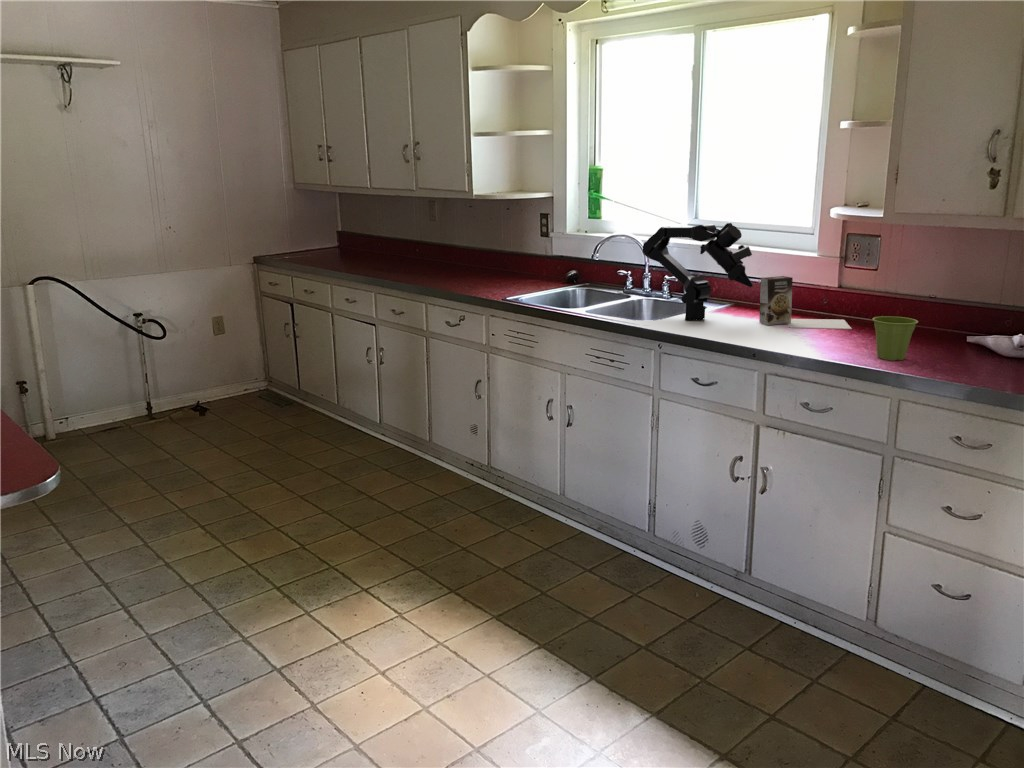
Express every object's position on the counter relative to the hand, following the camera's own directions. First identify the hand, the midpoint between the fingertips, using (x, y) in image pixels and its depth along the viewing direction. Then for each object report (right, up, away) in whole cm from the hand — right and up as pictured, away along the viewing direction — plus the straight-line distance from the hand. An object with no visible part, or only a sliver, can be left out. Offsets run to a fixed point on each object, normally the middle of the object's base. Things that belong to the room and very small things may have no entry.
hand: (751, 286), depth 285 cm
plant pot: (+25, -27, -52) cm, 63 cm away
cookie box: (+9, -13, +2) cm, 16 cm away
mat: (+22, -13, -2) cm, 26 cm away
